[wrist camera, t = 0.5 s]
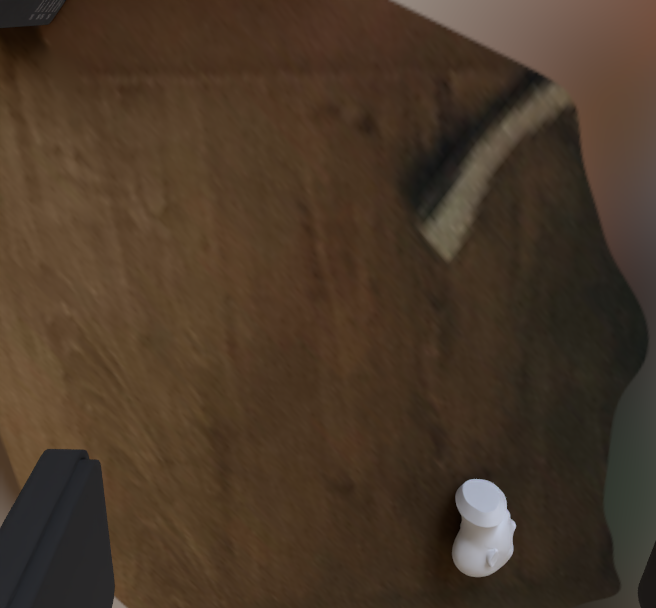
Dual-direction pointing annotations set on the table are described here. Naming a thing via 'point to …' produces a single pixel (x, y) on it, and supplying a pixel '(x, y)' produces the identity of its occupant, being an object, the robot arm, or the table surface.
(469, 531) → the smooth white sculpture
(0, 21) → the box
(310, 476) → the table surface
